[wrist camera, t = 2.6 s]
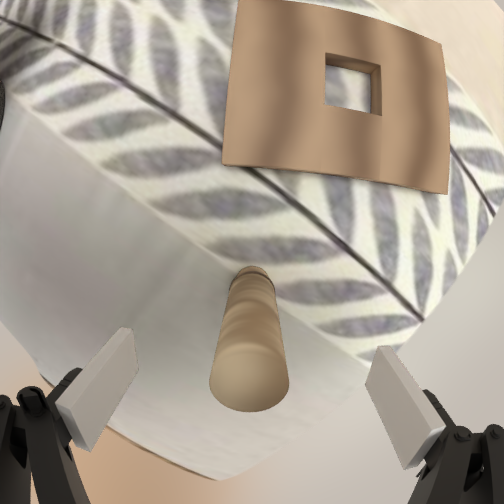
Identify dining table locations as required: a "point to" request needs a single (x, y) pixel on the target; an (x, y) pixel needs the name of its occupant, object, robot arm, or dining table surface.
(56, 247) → the dining table surface
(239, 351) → the peg
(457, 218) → the dining table surface
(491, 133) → the dining table surface
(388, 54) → the board
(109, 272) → the dining table surface
